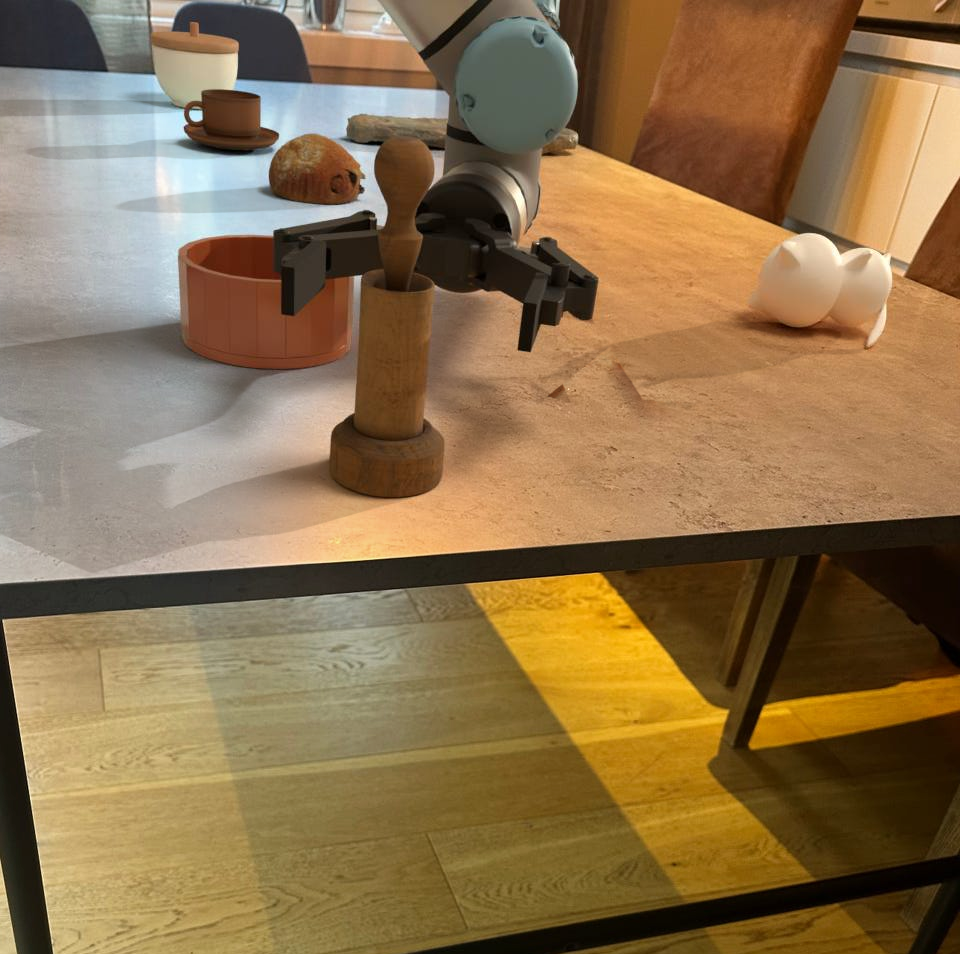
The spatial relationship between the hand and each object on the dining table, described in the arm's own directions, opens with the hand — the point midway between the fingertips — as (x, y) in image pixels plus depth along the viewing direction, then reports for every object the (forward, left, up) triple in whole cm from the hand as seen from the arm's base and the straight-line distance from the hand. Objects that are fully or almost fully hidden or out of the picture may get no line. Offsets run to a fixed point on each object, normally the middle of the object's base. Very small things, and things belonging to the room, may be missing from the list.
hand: (406, 309), depth 60 cm
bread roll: (-40, +58, -9) cm, 71 cm away
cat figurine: (+18, +48, -9) cm, 52 cm away
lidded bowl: (-84, +95, -9) cm, 128 cm away
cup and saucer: (-62, +73, -9) cm, 96 cm away
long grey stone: (-43, +103, -9) cm, 112 cm away
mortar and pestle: (+1, -2, -9) cm, 9 cm away
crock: (-17, +13, -9) cm, 23 cm away
